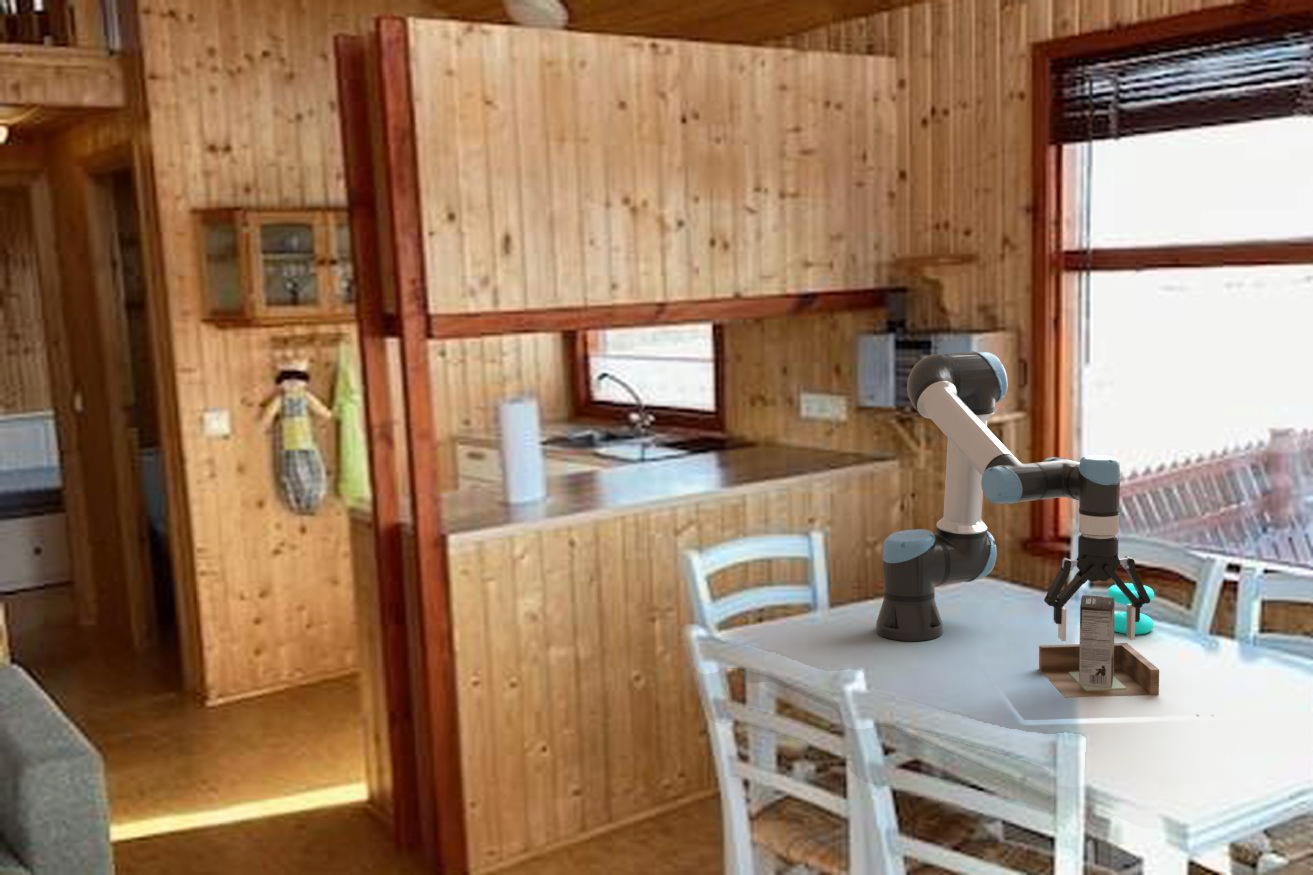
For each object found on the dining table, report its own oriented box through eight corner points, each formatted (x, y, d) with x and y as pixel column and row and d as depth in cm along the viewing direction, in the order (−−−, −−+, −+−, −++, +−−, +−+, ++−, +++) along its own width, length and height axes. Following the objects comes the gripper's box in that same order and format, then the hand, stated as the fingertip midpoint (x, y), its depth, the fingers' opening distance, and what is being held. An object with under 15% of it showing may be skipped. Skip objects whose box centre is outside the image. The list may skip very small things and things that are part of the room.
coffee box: (1081, 671, 265) (1081, 594, 263) (1114, 674, 263) (1115, 596, 261) (1078, 685, 257) (1078, 605, 255) (1112, 688, 254) (1113, 607, 252)
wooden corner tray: (1039, 672, 269) (1039, 645, 268) (1126, 669, 269) (1126, 642, 268) (1065, 701, 251) (1065, 672, 250) (1158, 698, 251) (1159, 669, 250)
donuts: (1162, 586, 295) (1140, 595, 289) (1162, 629, 297) (1139, 638, 290) (1122, 579, 303) (1099, 587, 296) (1121, 621, 304) (1098, 630, 298)
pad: (1068, 673, 265) (1068, 671, 265) (1107, 672, 265) (1107, 670, 265) (1085, 690, 254) (1085, 689, 254) (1126, 689, 254) (1126, 687, 254)
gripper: (1154, 528, 259) (1152, 631, 262) (1029, 531, 260) (1028, 634, 263) (1169, 536, 252) (1166, 642, 255) (1040, 540, 252) (1038, 645, 255)
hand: (1096, 638), depth 259 cm, fingers open, 13 cm apart
